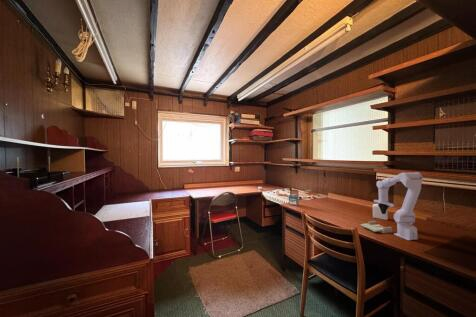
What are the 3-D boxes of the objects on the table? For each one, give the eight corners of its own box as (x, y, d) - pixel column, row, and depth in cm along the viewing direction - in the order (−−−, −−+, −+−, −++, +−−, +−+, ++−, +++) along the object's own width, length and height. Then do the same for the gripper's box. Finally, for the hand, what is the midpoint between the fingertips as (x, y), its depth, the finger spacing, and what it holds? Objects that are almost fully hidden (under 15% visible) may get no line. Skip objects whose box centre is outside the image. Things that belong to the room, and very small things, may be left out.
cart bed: (392, 232, 129) (391, 227, 129) (382, 233, 128) (382, 228, 128) (375, 225, 142) (375, 220, 142) (366, 226, 141) (366, 221, 141)
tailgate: (381, 229, 128) (375, 230, 127) (381, 230, 128) (375, 231, 127) (366, 223, 141) (360, 224, 140) (366, 224, 141) (360, 225, 140)
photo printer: (372, 217, 159) (371, 203, 159) (373, 216, 162) (373, 202, 162) (387, 220, 151) (386, 205, 151) (388, 219, 154) (388, 204, 154)
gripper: (370, 194, 147) (370, 211, 147) (388, 198, 133) (388, 217, 133) (377, 194, 148) (378, 210, 148) (396, 198, 134) (396, 216, 134)
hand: (383, 213), depth 141 cm, fingers closed
